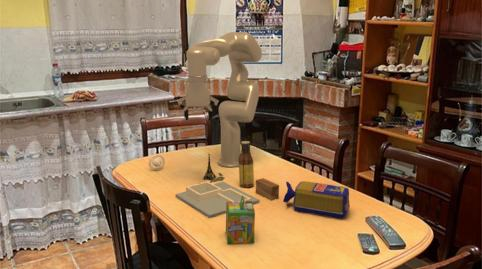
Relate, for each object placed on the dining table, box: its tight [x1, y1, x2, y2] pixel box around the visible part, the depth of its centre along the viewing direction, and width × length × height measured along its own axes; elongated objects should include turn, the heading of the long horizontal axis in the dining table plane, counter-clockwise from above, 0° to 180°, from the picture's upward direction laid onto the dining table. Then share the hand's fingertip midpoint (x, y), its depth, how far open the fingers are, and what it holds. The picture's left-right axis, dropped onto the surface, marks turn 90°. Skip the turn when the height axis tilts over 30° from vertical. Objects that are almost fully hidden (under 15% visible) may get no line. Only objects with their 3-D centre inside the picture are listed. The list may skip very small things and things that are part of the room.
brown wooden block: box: [255, 177, 280, 202], centre depth 192 cm, size 4×10×6 cm, turn 37°
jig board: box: [175, 180, 260, 219], centre depth 187 cm, size 24×25×4 cm
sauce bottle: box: [238, 140, 255, 189], centre depth 200 cm, size 6×6×20 cm
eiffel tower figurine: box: [197, 153, 225, 184], centre depth 209 cm, size 15×10×13 cm
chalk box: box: [225, 195, 256, 245], centre depth 155 cm, size 9×9×15 cm
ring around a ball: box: [148, 153, 166, 171], centre depth 220 cm, size 8×6×8 cm
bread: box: [282, 180, 351, 220], centre depth 178 cm, size 10×25×10 cm, turn 67°
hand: (198, 119), depth 196 cm, fingers open, 9 cm apart
